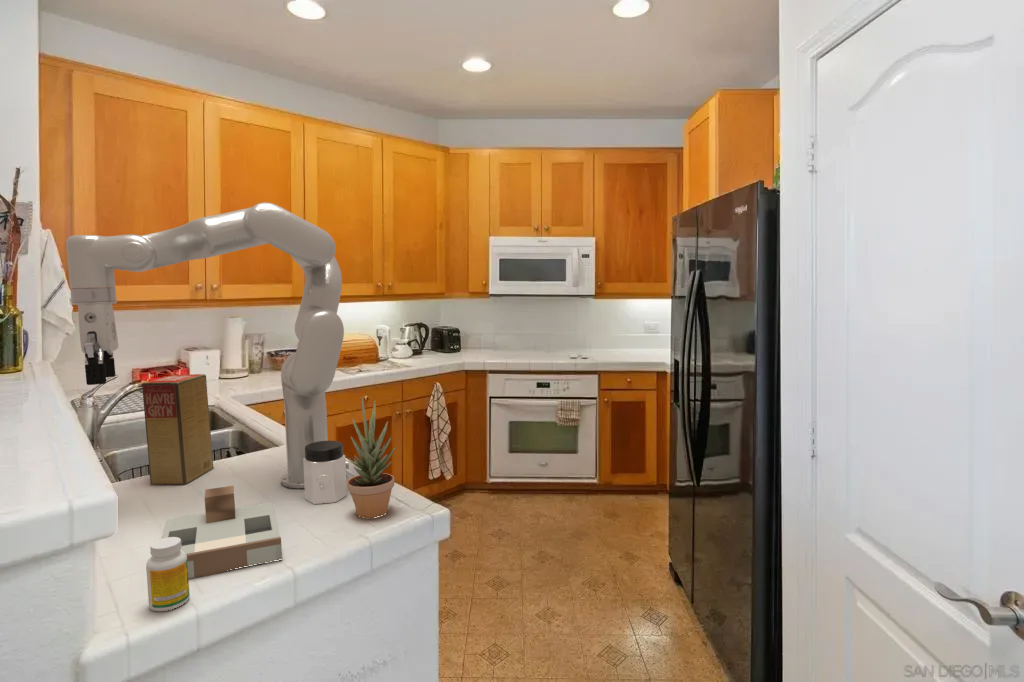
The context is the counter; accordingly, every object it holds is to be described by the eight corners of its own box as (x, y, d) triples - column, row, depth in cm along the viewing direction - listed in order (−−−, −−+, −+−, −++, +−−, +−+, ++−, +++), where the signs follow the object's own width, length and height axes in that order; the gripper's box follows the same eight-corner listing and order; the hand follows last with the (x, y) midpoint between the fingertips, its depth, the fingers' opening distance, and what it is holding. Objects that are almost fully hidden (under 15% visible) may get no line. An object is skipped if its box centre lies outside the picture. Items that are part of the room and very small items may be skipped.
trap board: (273, 516, 124) (272, 497, 123) (282, 560, 104) (280, 538, 103) (167, 533, 115) (166, 513, 115) (155, 585, 96) (153, 561, 95)
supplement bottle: (143, 605, 90) (138, 544, 89) (180, 590, 94) (175, 531, 93) (159, 616, 87) (154, 553, 86) (196, 600, 91) (192, 540, 90)
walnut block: (235, 509, 119) (233, 485, 119) (235, 518, 115) (233, 493, 114) (207, 514, 117) (205, 489, 117) (206, 523, 113) (204, 497, 112)
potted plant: (374, 501, 131) (369, 390, 129) (404, 510, 126) (401, 395, 123) (336, 516, 123) (331, 398, 121) (368, 527, 118) (363, 403, 115)
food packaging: (180, 468, 157) (173, 373, 154) (215, 468, 156) (209, 373, 154) (147, 485, 143) (139, 382, 141) (186, 485, 143) (178, 382, 140)
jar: (303, 506, 129) (300, 451, 128) (307, 493, 137) (304, 442, 136) (346, 502, 131) (343, 448, 130) (347, 489, 139) (345, 439, 138)
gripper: (107, 297, 115) (115, 385, 116) (123, 295, 130) (130, 373, 132) (59, 298, 112) (68, 389, 113) (81, 296, 127) (89, 376, 129)
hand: (101, 380), depth 123 cm, fingers open, 9 cm apart
